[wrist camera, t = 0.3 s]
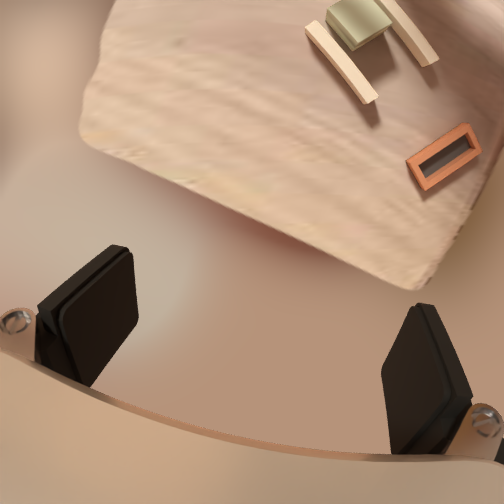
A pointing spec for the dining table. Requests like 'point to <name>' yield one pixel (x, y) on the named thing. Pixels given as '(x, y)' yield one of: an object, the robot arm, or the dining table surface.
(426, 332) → the robot arm
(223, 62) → the dining table surface
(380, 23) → the sage block
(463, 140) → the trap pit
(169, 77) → the dining table surface
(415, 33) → the walled channel
